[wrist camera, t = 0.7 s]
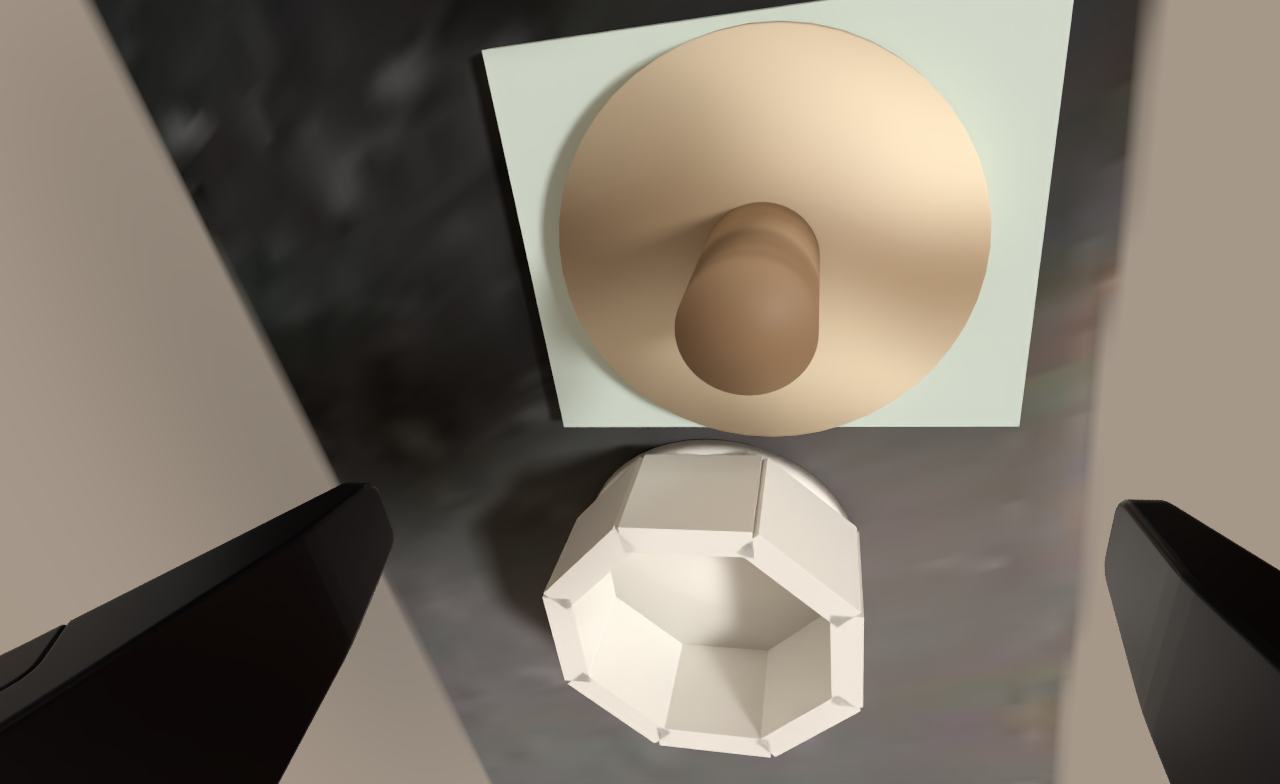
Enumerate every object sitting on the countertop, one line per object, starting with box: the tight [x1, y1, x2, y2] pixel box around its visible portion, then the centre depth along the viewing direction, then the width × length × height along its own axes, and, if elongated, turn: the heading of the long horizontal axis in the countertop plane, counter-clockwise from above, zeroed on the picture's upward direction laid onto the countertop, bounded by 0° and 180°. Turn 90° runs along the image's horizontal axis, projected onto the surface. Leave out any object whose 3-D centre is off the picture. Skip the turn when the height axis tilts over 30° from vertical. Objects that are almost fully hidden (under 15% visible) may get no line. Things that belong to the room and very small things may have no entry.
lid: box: [559, 20, 991, 437], centre depth 15 cm, size 10×10×5 cm
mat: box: [482, 0, 1074, 427], centre depth 18 cm, size 10×12×1 cm
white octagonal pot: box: [542, 439, 864, 758], centre depth 21 cm, size 8×8×4 cm
